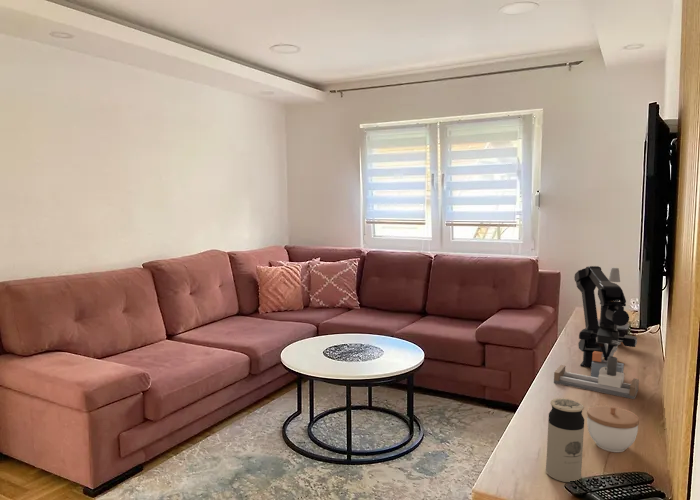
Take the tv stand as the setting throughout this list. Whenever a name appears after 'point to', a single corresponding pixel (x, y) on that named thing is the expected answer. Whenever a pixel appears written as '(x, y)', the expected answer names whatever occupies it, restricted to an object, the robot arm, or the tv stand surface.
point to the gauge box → (603, 367)
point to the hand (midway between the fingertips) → (606, 360)
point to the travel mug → (565, 440)
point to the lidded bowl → (612, 427)
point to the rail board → (594, 383)
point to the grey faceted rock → (612, 350)
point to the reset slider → (597, 356)
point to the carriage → (611, 374)
